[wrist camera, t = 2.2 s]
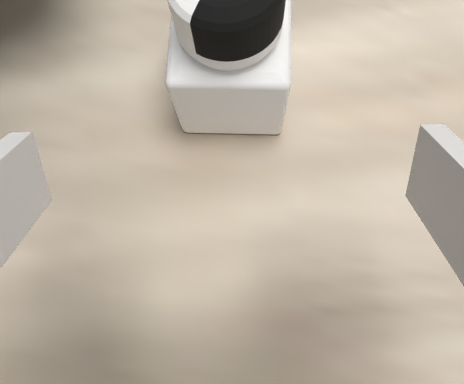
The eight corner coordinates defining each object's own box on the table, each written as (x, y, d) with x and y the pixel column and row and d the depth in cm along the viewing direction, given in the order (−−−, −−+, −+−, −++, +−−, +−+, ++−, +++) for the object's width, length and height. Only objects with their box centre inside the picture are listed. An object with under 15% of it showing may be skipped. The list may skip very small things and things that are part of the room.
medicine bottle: (282, 48, 32) (301, -96, 20) (281, 136, 30) (302, 33, 19) (188, 47, 32) (155, -95, 21) (182, 134, 31) (142, 32, 19)
